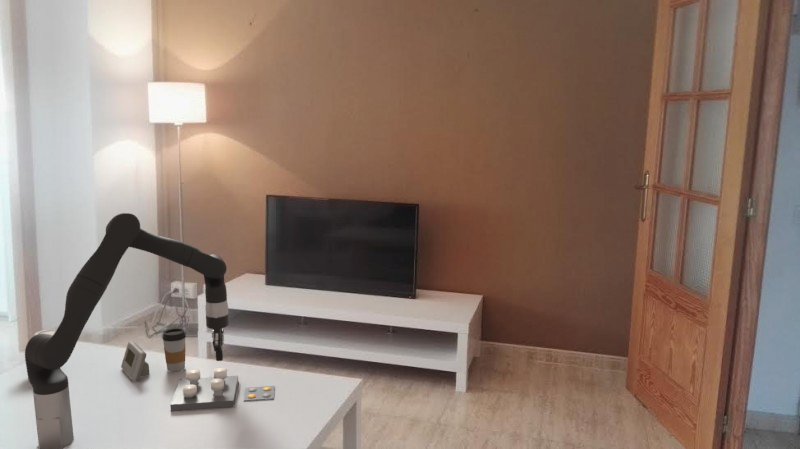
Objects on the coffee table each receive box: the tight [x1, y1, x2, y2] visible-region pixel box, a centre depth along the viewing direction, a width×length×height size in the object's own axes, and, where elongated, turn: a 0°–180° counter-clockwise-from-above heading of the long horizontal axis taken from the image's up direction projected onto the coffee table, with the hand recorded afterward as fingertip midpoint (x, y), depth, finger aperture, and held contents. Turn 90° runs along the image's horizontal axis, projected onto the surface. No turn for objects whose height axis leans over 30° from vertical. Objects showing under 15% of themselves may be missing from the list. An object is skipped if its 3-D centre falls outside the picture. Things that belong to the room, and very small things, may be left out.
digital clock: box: [120, 340, 150, 382], centre depth 241 cm, size 16×9×11 cm, turn 26°
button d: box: [213, 367, 228, 384], centre depth 228 cm, size 4×4×5 cm
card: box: [243, 385, 275, 402], centre depth 226 cm, size 10×10×1 cm
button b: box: [211, 379, 224, 396], centre depth 220 cm, size 4×4×5 cm
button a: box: [183, 385, 197, 398], centre depth 219 cm, size 4×4×5 cm
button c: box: [186, 369, 201, 386], centre depth 227 cm, size 4×4×5 cm
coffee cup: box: [162, 327, 187, 374], centre depth 245 cm, size 8×8×15 cm
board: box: [169, 375, 239, 412], centre depth 224 cm, size 20×20×2 cm
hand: (219, 360), depth 227 cm, fingers closed
